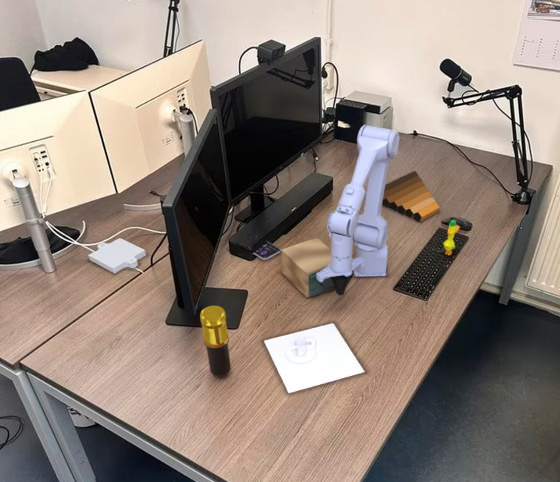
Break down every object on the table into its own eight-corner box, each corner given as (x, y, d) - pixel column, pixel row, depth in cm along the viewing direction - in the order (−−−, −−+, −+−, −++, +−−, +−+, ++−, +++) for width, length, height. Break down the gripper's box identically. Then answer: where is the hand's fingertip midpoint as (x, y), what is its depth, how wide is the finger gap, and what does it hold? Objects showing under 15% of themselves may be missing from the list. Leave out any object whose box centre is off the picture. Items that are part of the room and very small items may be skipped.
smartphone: (252, 233, 190) (282, 250, 181) (252, 234, 190) (282, 251, 181) (235, 241, 186) (264, 259, 177) (235, 243, 186) (264, 260, 177)
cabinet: (342, 283, 166) (343, 259, 161) (306, 297, 162) (306, 273, 156) (316, 260, 176) (316, 237, 171) (282, 272, 172) (281, 249, 166)
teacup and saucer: (312, 339, 148) (312, 328, 145) (323, 359, 142) (324, 347, 139) (281, 347, 146) (280, 336, 143) (291, 367, 140) (291, 356, 137)
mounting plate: (151, 257, 181) (150, 252, 180) (119, 276, 174) (118, 271, 172) (116, 240, 190) (115, 235, 189) (84, 257, 183) (83, 252, 181)
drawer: (353, 292, 161) (354, 273, 157) (319, 305, 157) (320, 286, 153) (319, 262, 174) (319, 244, 170) (287, 273, 170) (287, 255, 166)
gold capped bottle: (185, 395, 134) (172, 332, 121) (219, 362, 142) (210, 301, 130) (203, 405, 131) (192, 342, 119) (237, 371, 139) (230, 309, 127)
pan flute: (410, 177, 220) (367, 198, 207) (411, 169, 217) (368, 189, 205) (464, 198, 204) (421, 222, 192) (465, 190, 202) (422, 213, 190)
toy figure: (448, 246, 180) (454, 213, 172) (458, 250, 178) (465, 217, 171) (438, 255, 176) (444, 222, 169) (448, 259, 174) (454, 226, 167)
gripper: (326, 268, 143) (326, 309, 151) (372, 251, 148) (369, 292, 156) (312, 255, 147) (312, 296, 156) (357, 239, 153) (354, 279, 161)
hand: (339, 293), depth 157 cm, fingers closed, pressing on drawer
